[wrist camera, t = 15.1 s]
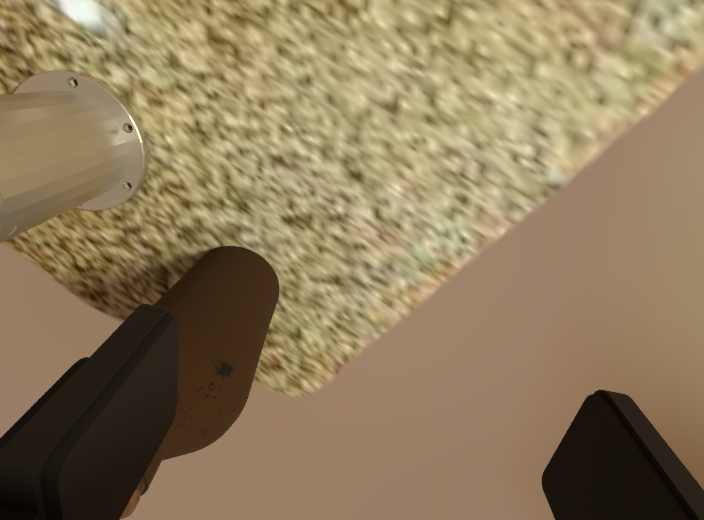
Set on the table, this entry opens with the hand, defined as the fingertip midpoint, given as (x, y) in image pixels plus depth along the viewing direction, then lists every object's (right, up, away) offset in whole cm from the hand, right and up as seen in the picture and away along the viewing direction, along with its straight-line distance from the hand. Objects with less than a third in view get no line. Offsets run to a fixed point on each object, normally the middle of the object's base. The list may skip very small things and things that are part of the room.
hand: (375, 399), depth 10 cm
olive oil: (-13, 0, +36) cm, 38 cm away
